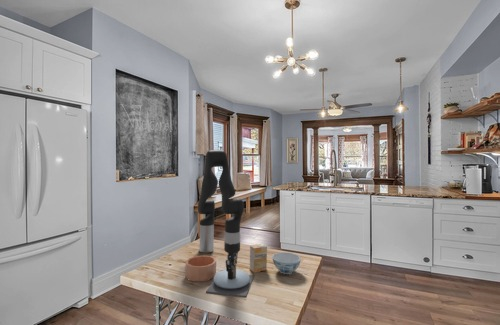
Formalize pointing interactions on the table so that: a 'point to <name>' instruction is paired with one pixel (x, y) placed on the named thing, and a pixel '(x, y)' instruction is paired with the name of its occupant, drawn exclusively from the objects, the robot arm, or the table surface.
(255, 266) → the supplement box
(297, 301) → the table surface
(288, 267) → the chinaware
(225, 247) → the robot arm
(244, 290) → the mat
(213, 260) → the bowl
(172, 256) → the table surface
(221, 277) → the lid
